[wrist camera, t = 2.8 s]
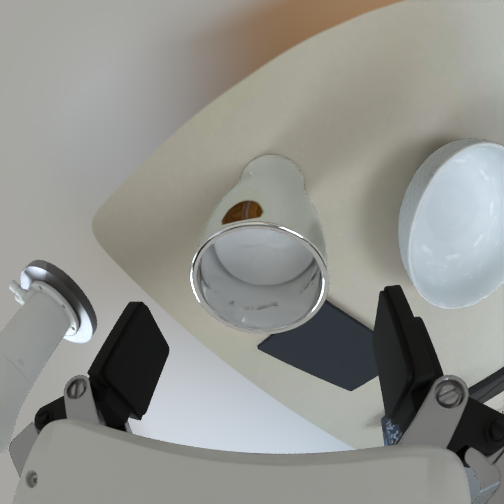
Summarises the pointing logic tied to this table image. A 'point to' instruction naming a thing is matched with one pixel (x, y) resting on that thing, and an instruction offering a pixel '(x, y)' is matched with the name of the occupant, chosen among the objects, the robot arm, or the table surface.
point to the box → (390, 432)
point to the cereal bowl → (455, 224)
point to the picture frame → (488, 387)
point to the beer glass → (263, 252)
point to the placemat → (327, 348)
